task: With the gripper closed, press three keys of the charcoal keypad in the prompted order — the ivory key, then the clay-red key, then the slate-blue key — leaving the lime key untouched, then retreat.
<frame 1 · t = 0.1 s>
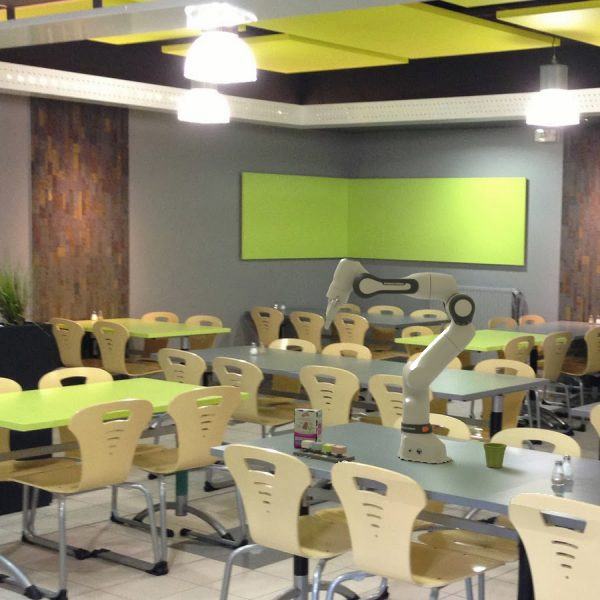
hand: (325, 328, 453), 52 cm above the table, tool tilted 20°, fingers open, 8 cm apart
key ivory: (308, 445, 457), point 4 cm above the table, slide at 0.0 cm
candy bar box: (307, 448, 471), on the table
key clay: (339, 451, 447), point 4 cm above the table, slide at 0.0 cm
key lime: (329, 449, 450), point 4 cm above the table, slide at 0.0 cm
keypad board: (323, 456, 452), on the table
plant pot: (494, 467, 440), on the table
key slate: (318, 447, 454), point 4 cm above the table, slide at 0.0 cm
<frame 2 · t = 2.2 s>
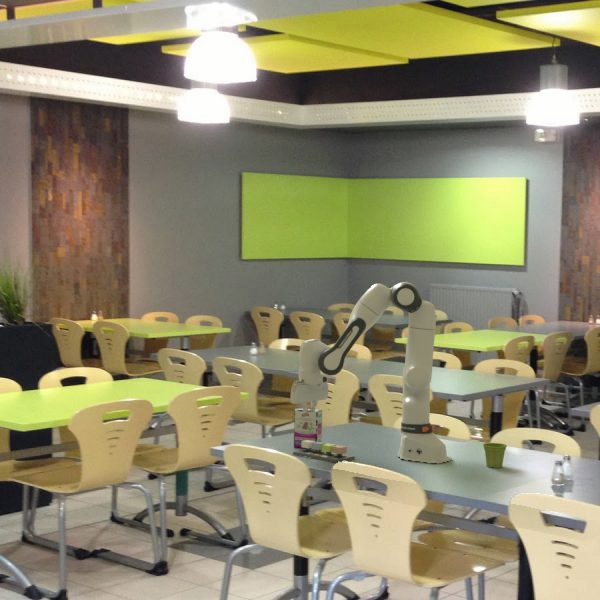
hand: (308, 412, 457), 17 cm above the table, tool pointing down, fingers open, 3 cm apart
nothing on the table moved.
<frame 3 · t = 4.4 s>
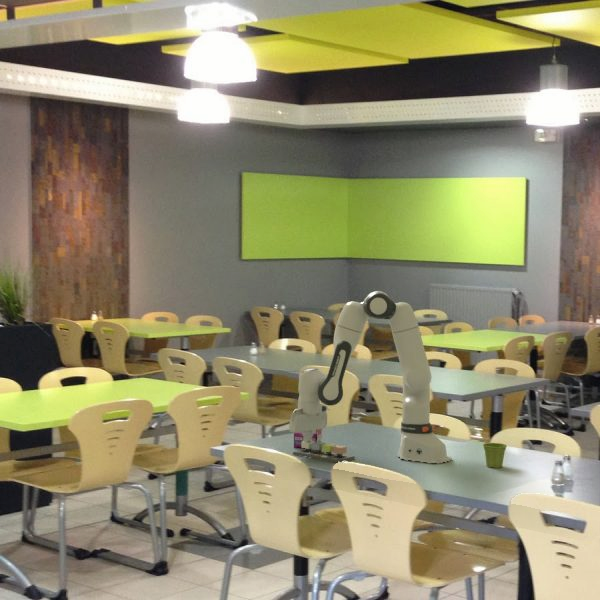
hand: (307, 441, 457), 5 cm above the table, tool pointing down, fingers closed, pressing on key ivory
key ivory: (308, 445, 458), point 3 cm above the table, slide at 0.2 cm, touching gripper
everything else where it was.
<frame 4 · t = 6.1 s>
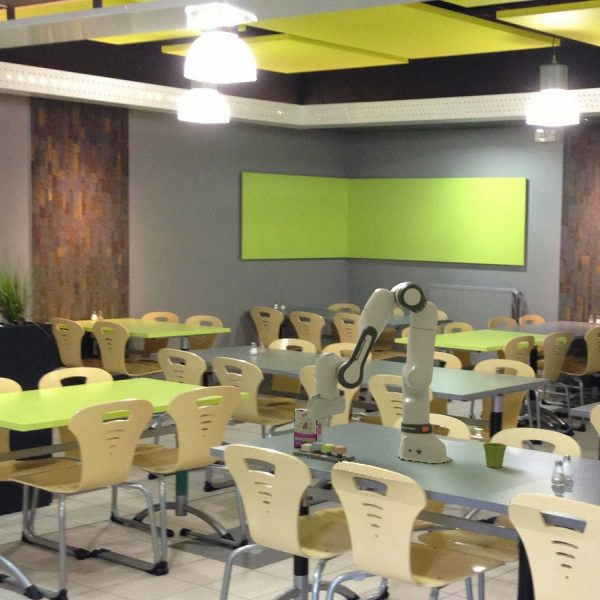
hand: (326, 426, 452), 12 cm above the table, tool pointing down, fingers closed
key ivory: (308, 448, 458), point 2 cm above the table, slide at 1.5 cm
everything else where it was.
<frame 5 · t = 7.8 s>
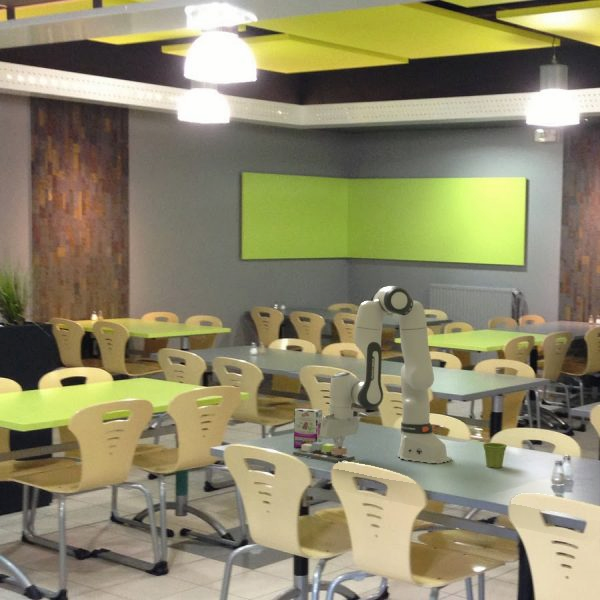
hand: (338, 447, 447), 5 cm above the table, tool pointing down, fingers closed
key clay: (339, 452, 447), point 3 cm above the table, slide at 0.4 cm, touching gripper
everything else where it was.
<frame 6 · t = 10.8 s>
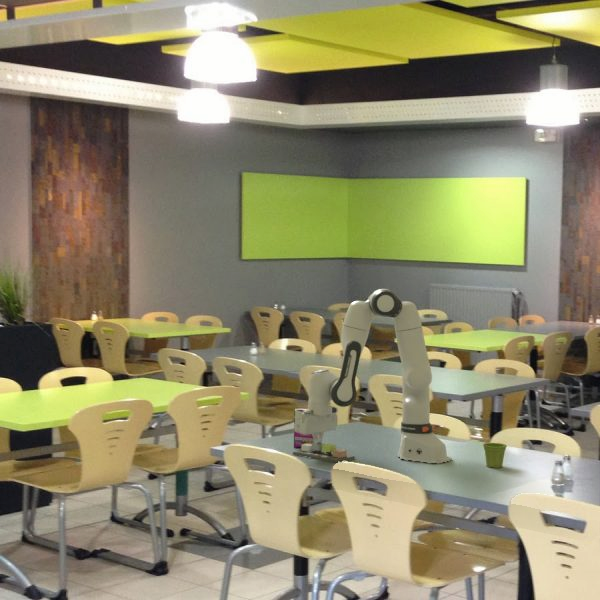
hand: (317, 443, 454), 5 cm above the table, tool pointing down, fingers closed, pressing on key slate
key clay: (339, 454, 447), point 2 cm above the table, slide at 1.5 cm
key slate: (318, 447, 454), point 3 cm above the table, slide at 0.2 cm, touching gripper
everything else where it was.
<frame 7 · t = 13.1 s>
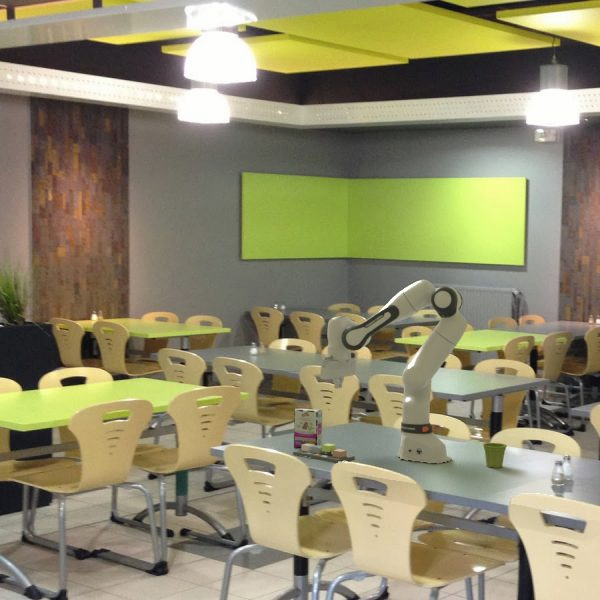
hand: (338, 388, 465), 26 cm above the table, tool pointing down, fingers closed
key slate: (318, 450, 454), point 2 cm above the table, slide at 1.5 cm
everything else where it was.
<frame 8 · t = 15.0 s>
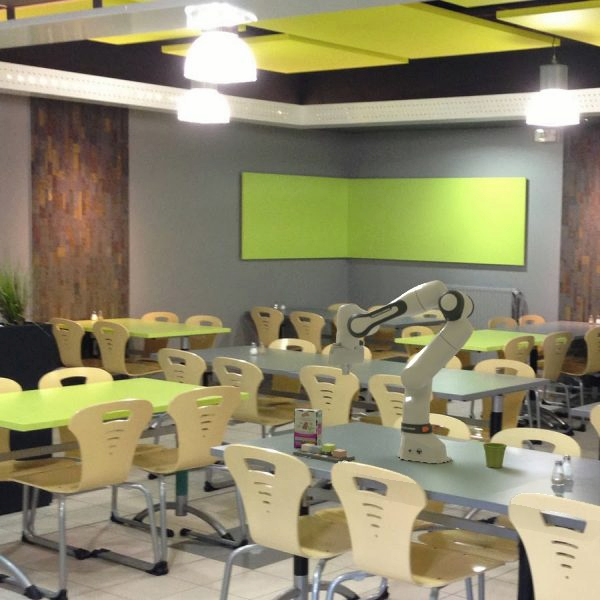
hand: (345, 374, 470), 31 cm above the table, tool pointing down, fingers closed
nothing on the table moved.
at the end: key ivory slide at 1.5 cm; key clay slide at 1.5 cm; key slate slide at 1.5 cm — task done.
